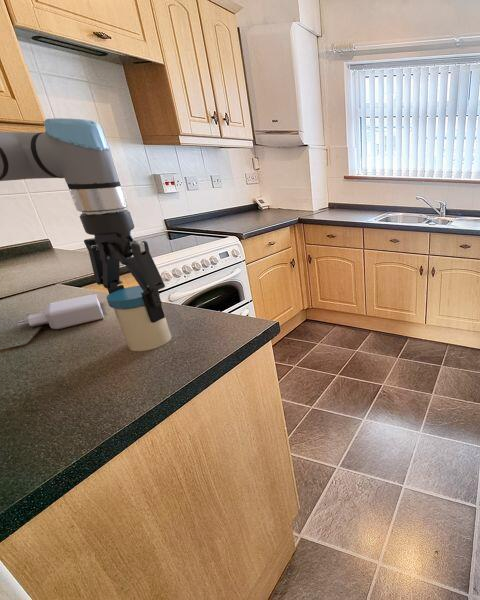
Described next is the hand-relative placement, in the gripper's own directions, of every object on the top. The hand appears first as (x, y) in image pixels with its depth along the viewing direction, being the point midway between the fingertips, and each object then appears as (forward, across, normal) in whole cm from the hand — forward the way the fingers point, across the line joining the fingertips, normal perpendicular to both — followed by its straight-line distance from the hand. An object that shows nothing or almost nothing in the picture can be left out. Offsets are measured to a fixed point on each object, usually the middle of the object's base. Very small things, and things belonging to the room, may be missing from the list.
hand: (141, 317), depth 73 cm
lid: (-5, 0, 0) cm, 5 cm away
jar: (+6, 0, 0) cm, 6 cm away
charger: (+6, +30, -1) cm, 30 cm away
